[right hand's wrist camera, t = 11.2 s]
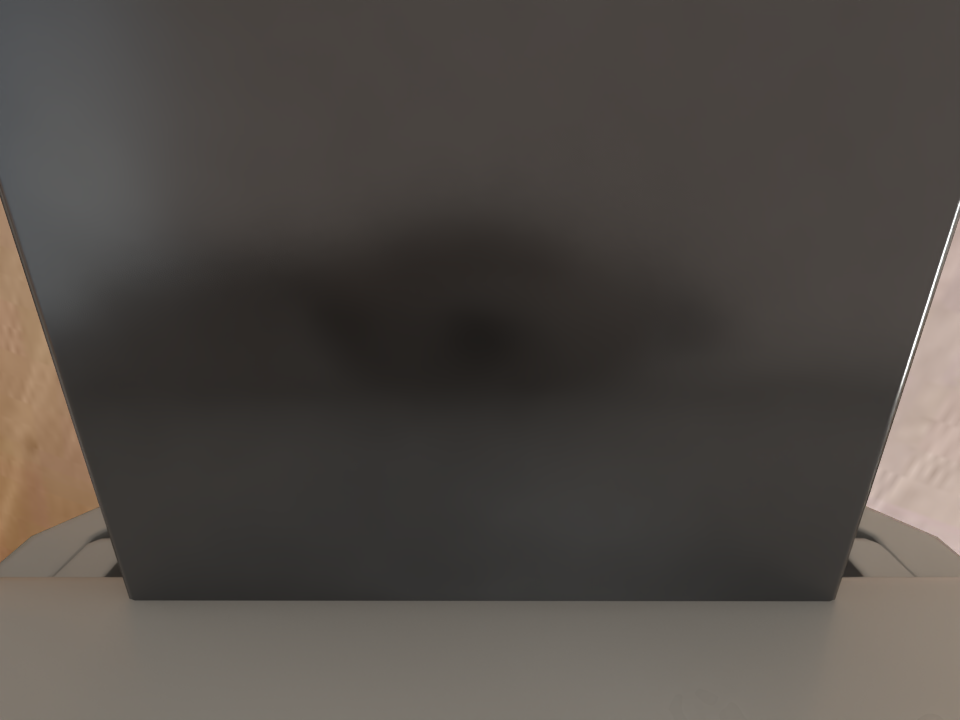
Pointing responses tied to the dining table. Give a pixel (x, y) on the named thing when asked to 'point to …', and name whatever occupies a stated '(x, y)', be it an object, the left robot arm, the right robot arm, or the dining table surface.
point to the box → (481, 284)
